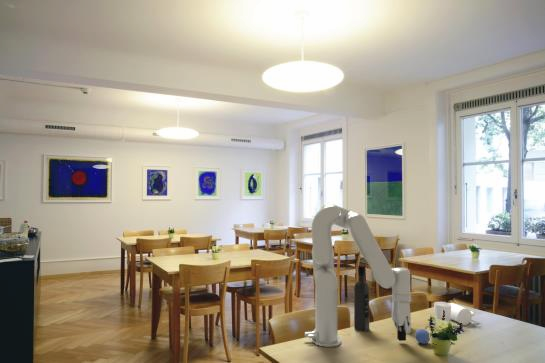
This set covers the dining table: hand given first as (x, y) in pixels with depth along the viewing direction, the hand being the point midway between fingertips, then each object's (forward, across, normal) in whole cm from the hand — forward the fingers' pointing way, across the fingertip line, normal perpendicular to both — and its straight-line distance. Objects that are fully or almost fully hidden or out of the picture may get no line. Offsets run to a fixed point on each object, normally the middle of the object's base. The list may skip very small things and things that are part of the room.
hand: (401, 339), depth 163 cm
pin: (+2, -12, +8) cm, 14 cm away
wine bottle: (+2, -18, -12) cm, 22 cm away
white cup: (+2, -22, +30) cm, 37 cm away
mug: (+2, -26, +42) cm, 49 cm away
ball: (-2, +1, +9) cm, 9 cm away
